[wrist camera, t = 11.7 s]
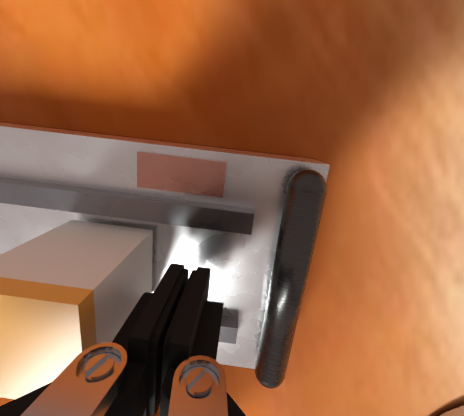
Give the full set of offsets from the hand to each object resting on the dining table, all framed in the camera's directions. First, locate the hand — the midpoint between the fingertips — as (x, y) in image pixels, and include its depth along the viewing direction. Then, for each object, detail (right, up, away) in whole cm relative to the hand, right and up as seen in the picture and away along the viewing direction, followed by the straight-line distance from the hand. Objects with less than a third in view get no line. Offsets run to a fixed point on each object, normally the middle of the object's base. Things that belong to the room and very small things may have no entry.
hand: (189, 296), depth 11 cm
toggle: (-4, +1, +2) cm, 5 cm away
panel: (-8, +2, +5) cm, 10 cm away
